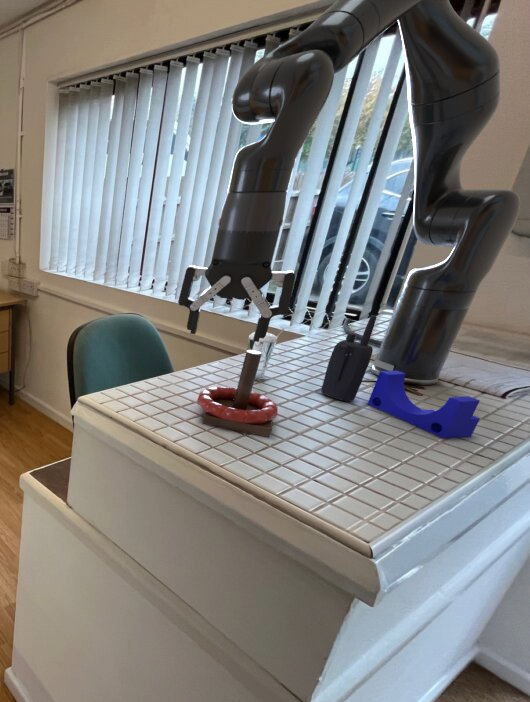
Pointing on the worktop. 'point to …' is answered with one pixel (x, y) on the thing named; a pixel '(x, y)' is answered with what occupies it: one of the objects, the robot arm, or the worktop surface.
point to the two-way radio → (348, 365)
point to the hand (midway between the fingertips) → (223, 336)
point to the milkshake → (263, 350)
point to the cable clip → (443, 422)
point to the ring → (237, 415)
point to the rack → (242, 400)
